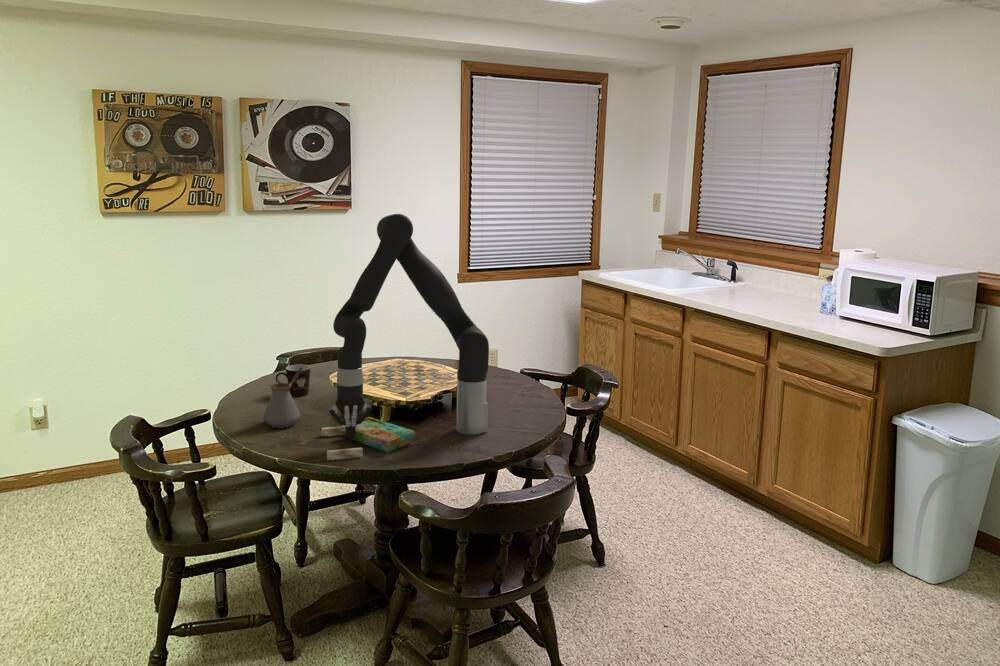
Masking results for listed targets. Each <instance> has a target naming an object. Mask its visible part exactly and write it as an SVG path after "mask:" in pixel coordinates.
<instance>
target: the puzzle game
mask: <svg viewBox="0 0 1000 666" xmlns="http://www.w3.org/2000/svg"><path fill="white" fill-rule="evenodd" d="M350 425H351V422H350ZM340 426H341V431H343V432H345V426H344V425H340ZM415 437H416V432H415V431H414V430H413V429H409V428H405V427H404V426H399V425H396V424H393V423H390V422H387V421H383V420H380V419H377V418H374V417H370V416H367V417H366V418H365V419H364V421H363V422H362V423H361V424H358V425H356V435H355V436H353V438H351V440H353V441H356V442H358V443H360V444H362V445H367V446H369V447H371V448H374V449H377V450H381V451H382V452H385V453H390V452H392V451H395V450H397V449H400V448H402V447H405V446H407V445H409V444H410V443H411V441H412V440H413V439H414V438H415Z"/></svg>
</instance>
